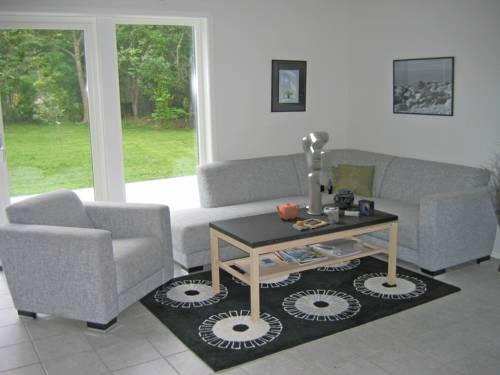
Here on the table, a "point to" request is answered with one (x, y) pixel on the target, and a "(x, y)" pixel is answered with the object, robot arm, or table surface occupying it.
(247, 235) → the table surface
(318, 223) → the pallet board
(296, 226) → the button housing
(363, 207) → the small box
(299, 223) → the button
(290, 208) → the teapot
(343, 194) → the decorative stone
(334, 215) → the metal billet
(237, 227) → the table surface
